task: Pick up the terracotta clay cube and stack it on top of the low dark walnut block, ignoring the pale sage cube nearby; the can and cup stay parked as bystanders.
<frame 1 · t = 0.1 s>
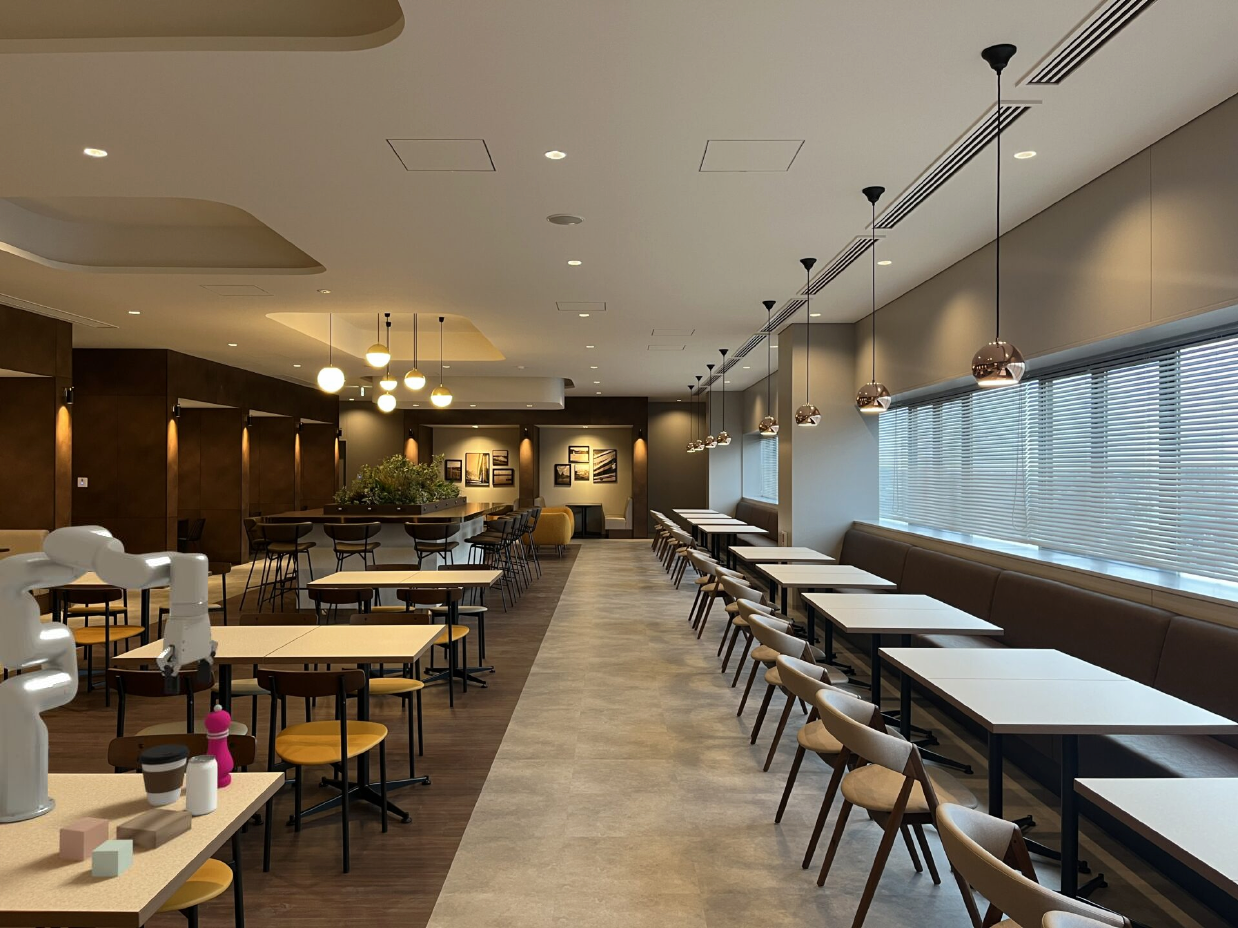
hand: (188, 687, 181), 31 cm above the table, fingers open, 9 cm apart
sage cube: (112, 870, 162), on the table
walnut block: (154, 837, 178), on the table
can: (201, 811, 191), on the table
pepper mill: (217, 785, 208), on the table
clay cube: (84, 853, 170), on the table
coffee cup: (164, 801, 197), on the table
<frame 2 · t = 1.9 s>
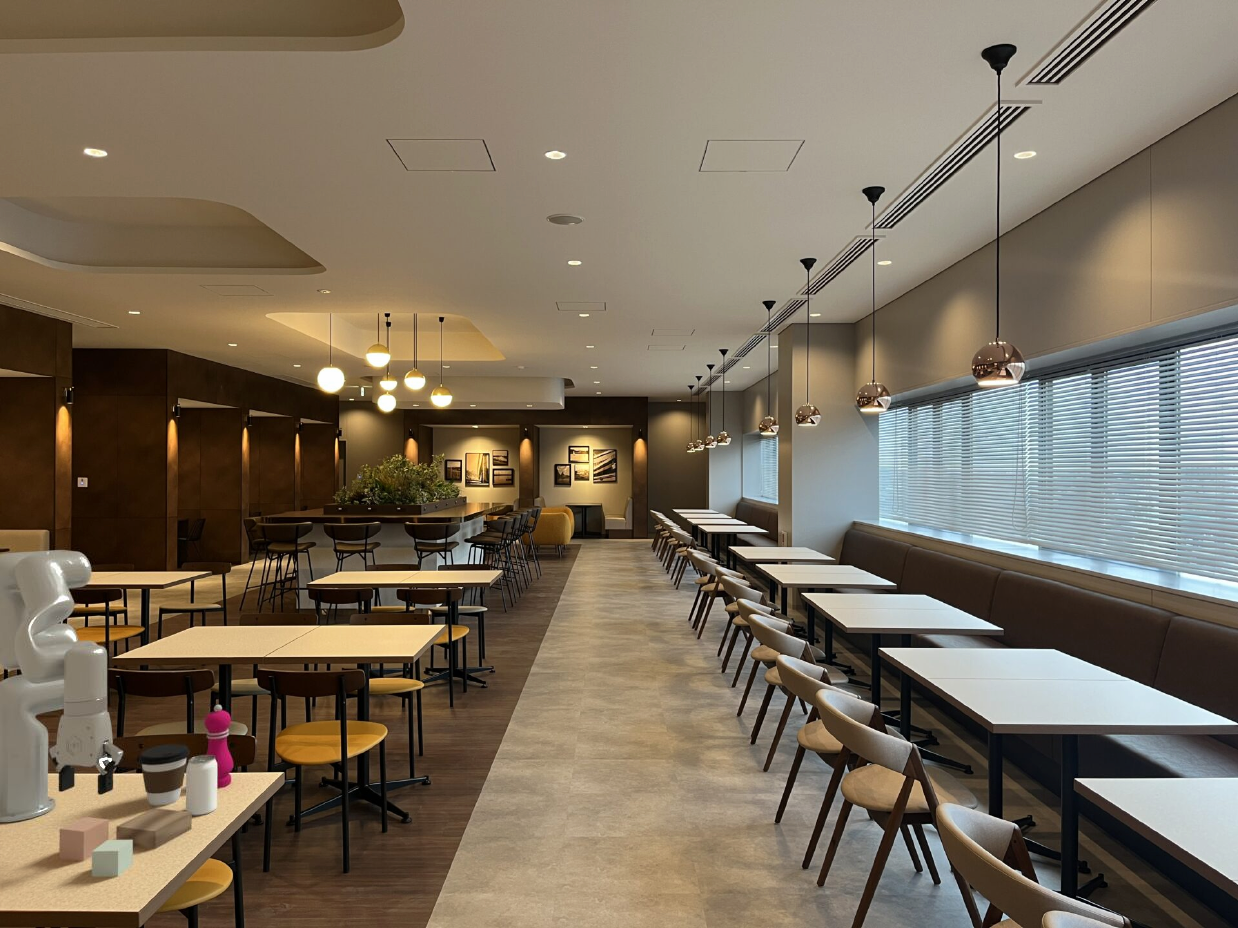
hand: (85, 790, 170), 13 cm above the table, fingers open, 9 cm apart
nothing on the table moved.
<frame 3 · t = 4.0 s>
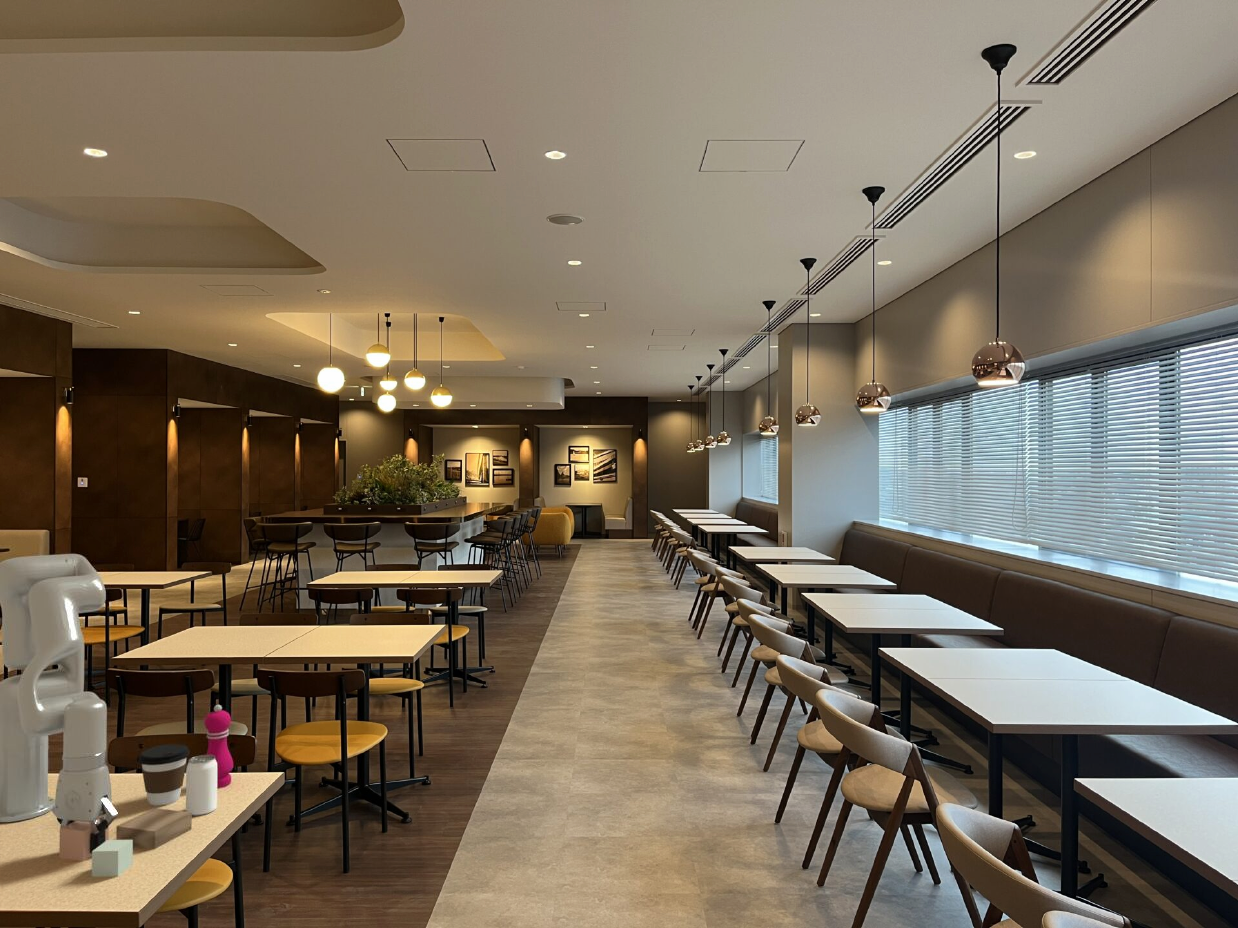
hand: (84, 848, 170), 1 cm above the table, fingers closed on clay cube, 6 cm apart
clay cube: (84, 852, 170), on the table, touching gripper
everything else where it was.
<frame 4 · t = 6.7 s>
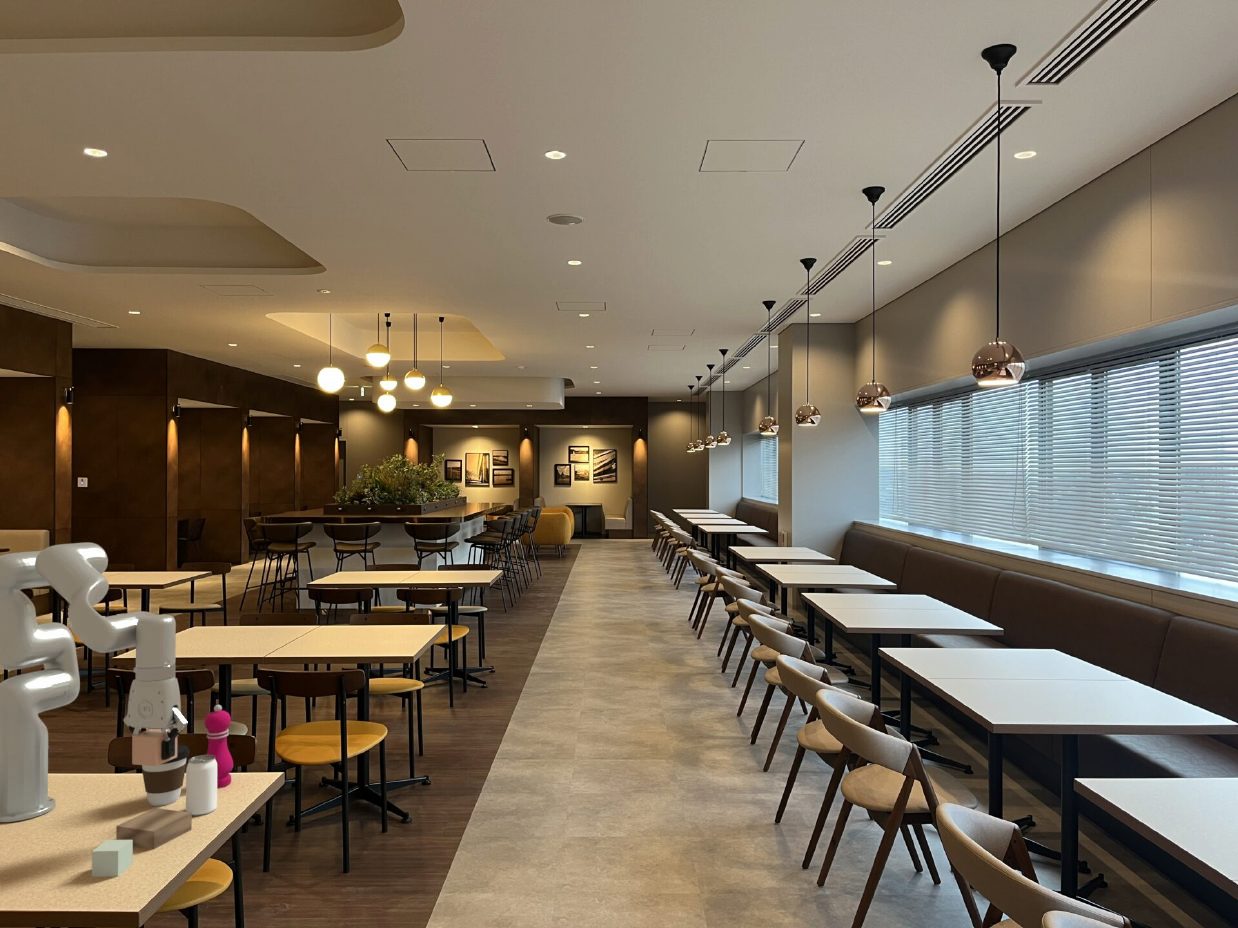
hand: (155, 755, 178), 17 cm above the table, fingers closed on clay cube, 6 cm apart
clay cube: (155, 760, 178), point 16 cm above the table, touching gripper
everything else where it was.
when the fingers open (7 cm above the table, at t = 9.9 s): clay cube drops 2 cm, point 4 cm above the table.
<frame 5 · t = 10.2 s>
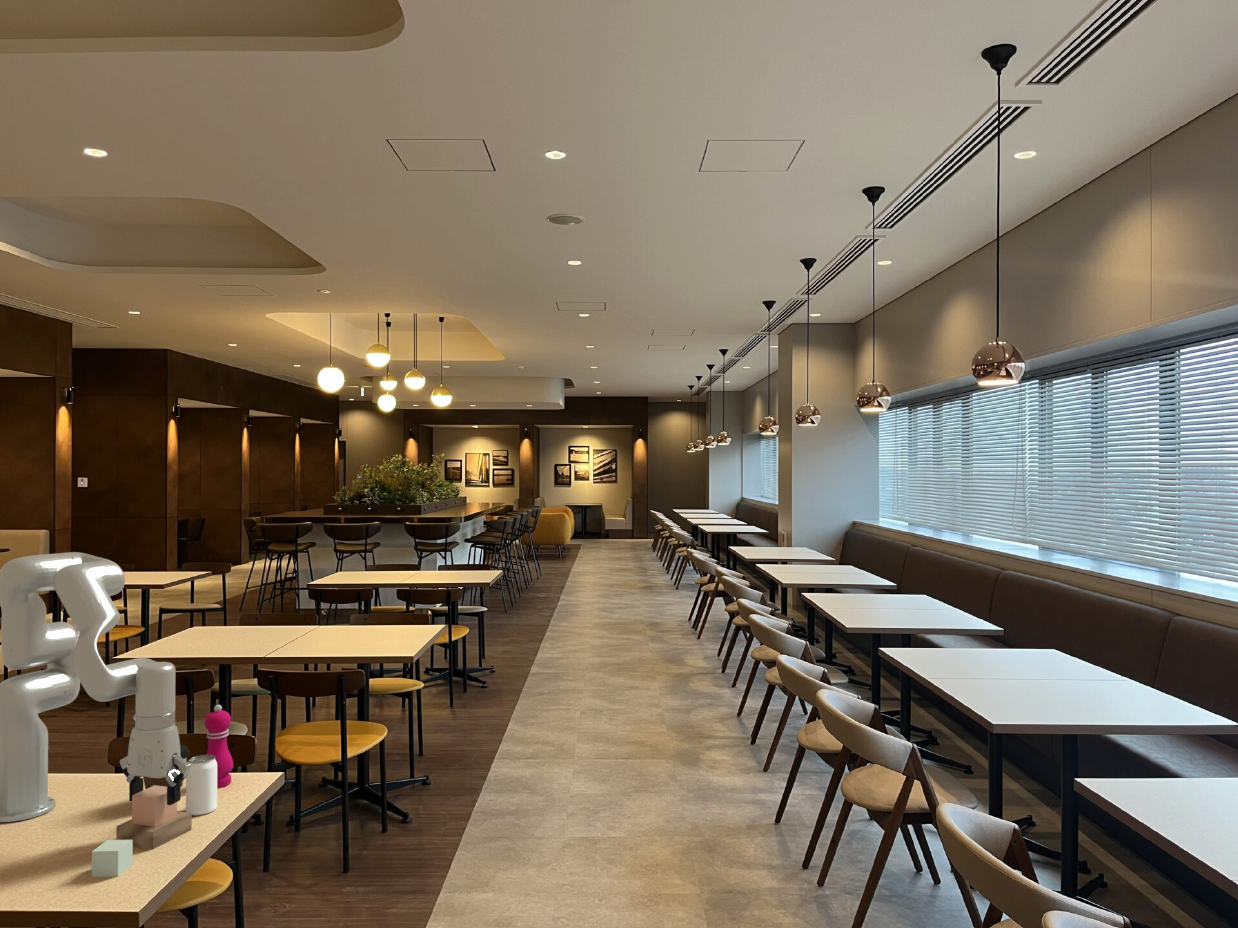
hand: (154, 800, 178), 8 cm above the table, fingers open, 9 cm apart
clay cube: (154, 819, 178), point 4 cm above the table
everything else where it was.
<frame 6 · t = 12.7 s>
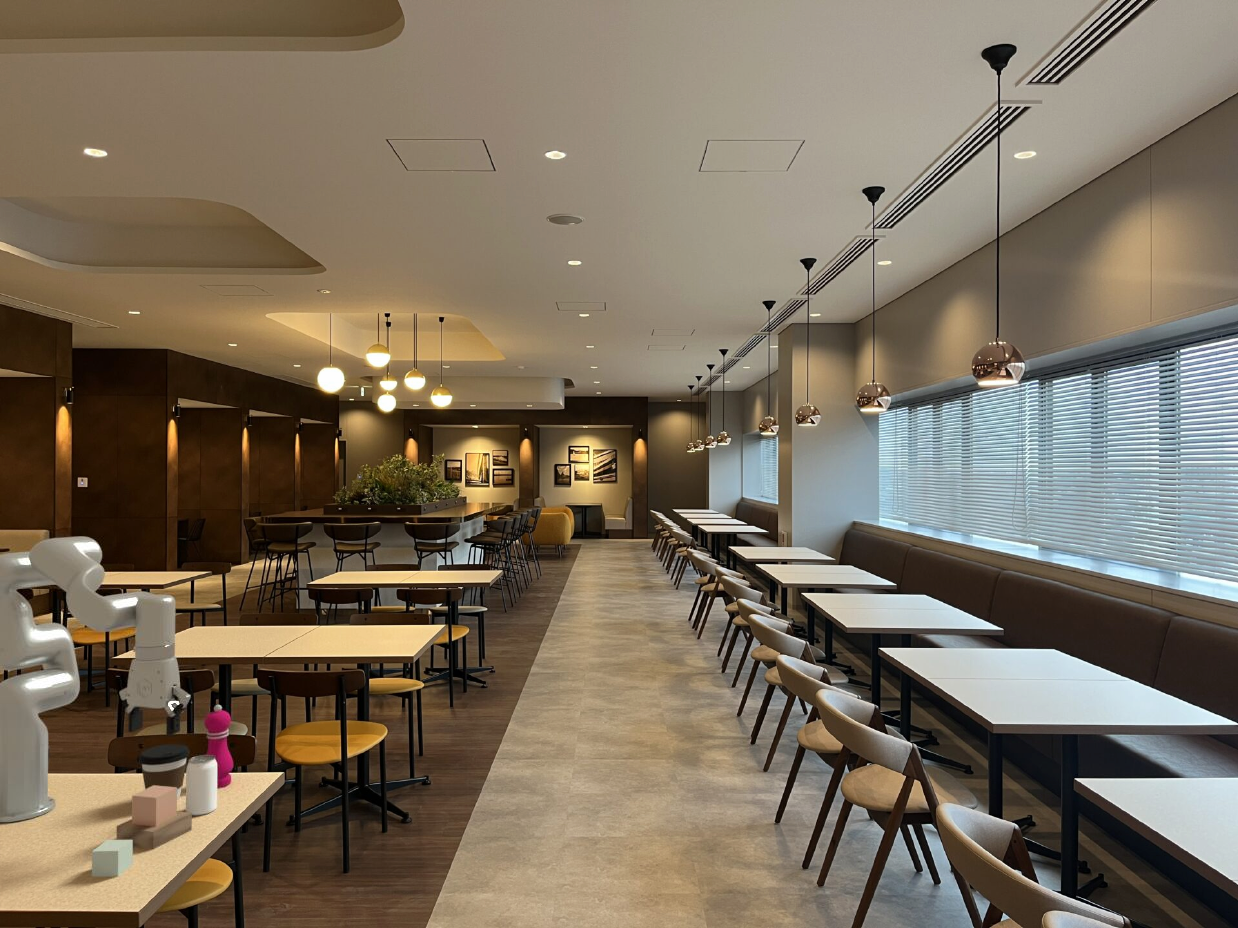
hand: (154, 731, 178), 22 cm above the table, fingers open, 9 cm apart
nothing on the table moved.
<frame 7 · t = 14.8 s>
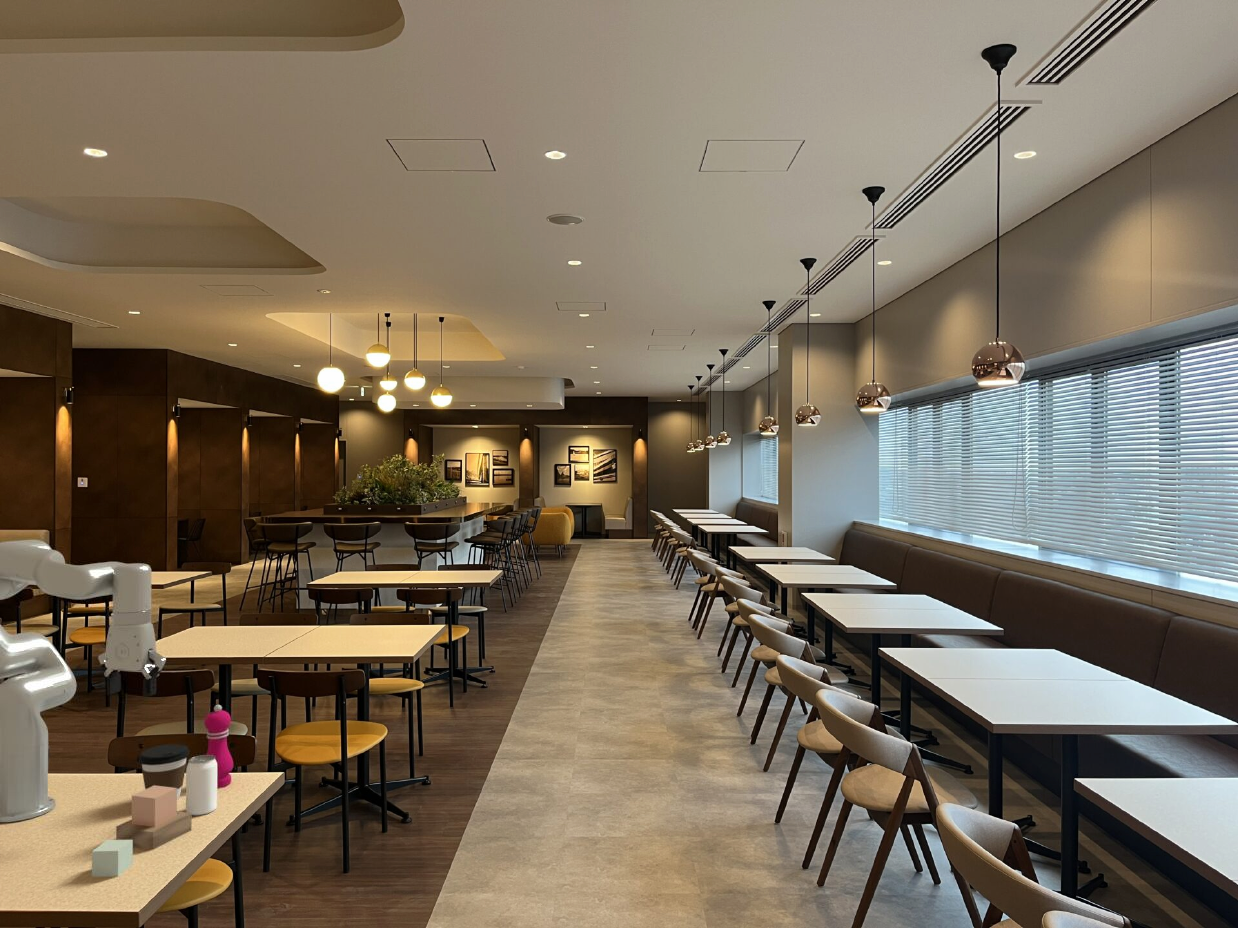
hand: (131, 694, 187), 28 cm above the table, fingers open, 9 cm apart
walnut block: (154, 838, 178), on the table, touching clay cube
clay cube: (154, 819, 178), point 4 cm above the table, touching walnut block
everything else where it was.
at the end: clay cube inside the target area on the walnut block (0.1 cm from its centre), point 4.0 cm above the walnut block's base; clay cube tilted 0°; the gripper is holding nothing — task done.
